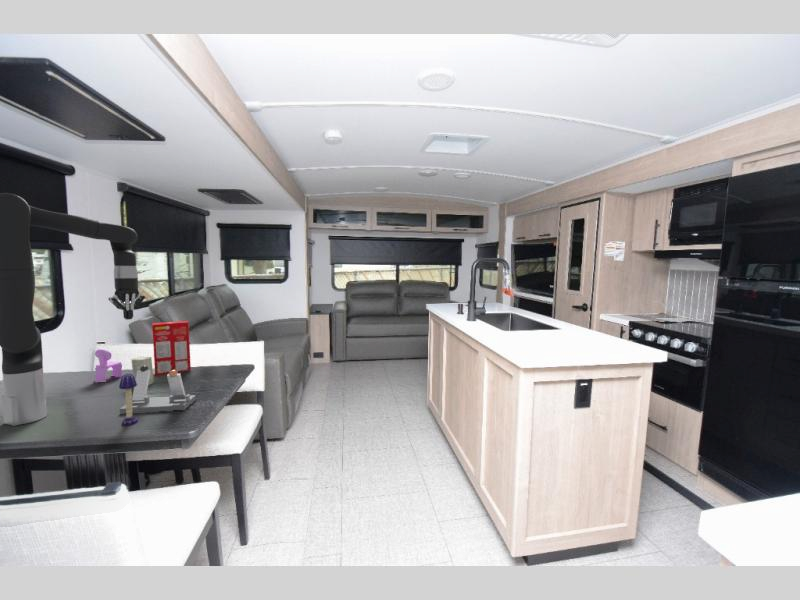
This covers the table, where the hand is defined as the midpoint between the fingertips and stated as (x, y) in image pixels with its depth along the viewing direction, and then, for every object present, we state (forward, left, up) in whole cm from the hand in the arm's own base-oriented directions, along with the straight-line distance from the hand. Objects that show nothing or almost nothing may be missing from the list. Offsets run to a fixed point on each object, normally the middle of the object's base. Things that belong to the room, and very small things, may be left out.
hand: (128, 319), depth 140 cm
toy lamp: (-20, -29, -31) cm, 47 cm away
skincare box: (+8, +6, -31) cm, 33 cm away
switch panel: (-6, -25, -31) cm, 40 cm away
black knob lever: (-10, -19, -28) cm, 36 cm away
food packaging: (+26, +12, -31) cm, 42 cm away
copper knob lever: (-3, -31, -28) cm, 42 cm away
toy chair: (+7, +28, -31) cm, 43 cm away
